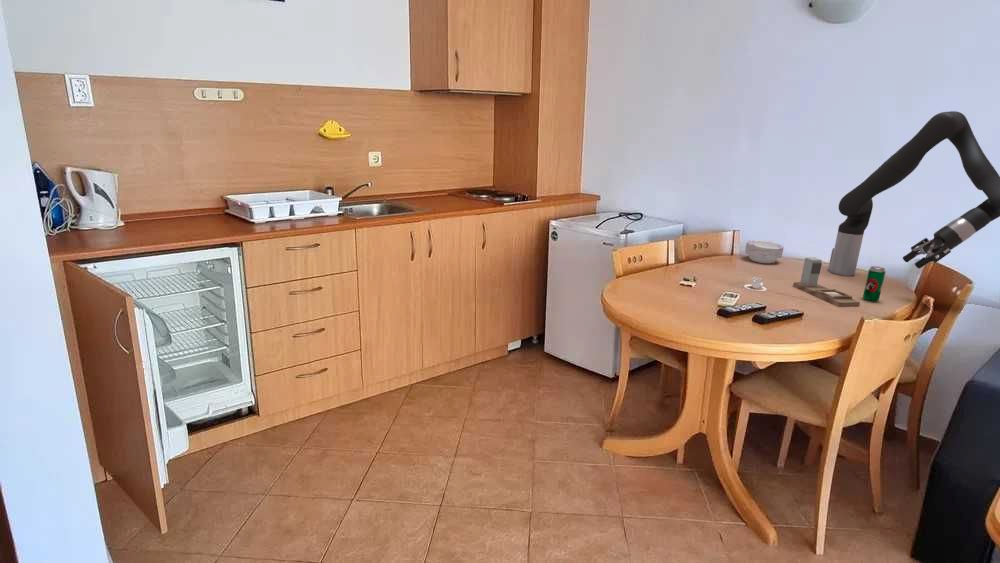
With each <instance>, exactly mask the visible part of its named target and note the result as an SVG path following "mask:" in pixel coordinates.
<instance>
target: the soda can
mask: <svg viewBox="0 0 1000 563" xmlns="http://www.w3.org/2000/svg"><path fill="white" fill-rule="evenodd" d="M885 276H886V270H885V267H881V266H877V265H876V266H875V265H872V266H870V267H869V269H868V273H867V277H866V280H865V286H864V290H863V294H862V298H863V300H864V301H866V300H867V301H866V302H870V301H871V302H872V303H876V302H879V300H880V297H881V293H882V289H883V284H884V280H885ZM871 302H870V303H871Z"/></svg>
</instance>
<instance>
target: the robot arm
mask: <svg viewBox="0 0 1000 563" xmlns="http://www.w3.org/2000/svg"><path fill="white" fill-rule="evenodd" d="M945 140H948V141H949V142H950V143H951V144H952V145H953V146H954V147H955V149H956V150H957V152H958V153H959V157H960V161H961V164H962V167H963V169H964V172H965V173H966V175H967V177H968V178H969V180H970V182H971V183H972V184H973V185H974V186H975V188H976V189H977V190H979V191H982V192H983V194H984V195H985V196H986V197H987V199H985V200H984V201H983V202H981V203H980V204H978V205H976V207H973V208H971V209H969V210H968V211H966V212H965V213H962V215H960V216H958V217H957V218H955V219H954V220H952V221H950V222H949V223H947V224H946V225H944V226H942V227H941V228H939V229H938V230H937V231H935V232H934V233H933V238H932V239H929V238H928V237H925V238H922V239H921V240H920V241H918V242H917V243H915V244H914V245H913V246H911V247H910V250H911V251H910V252H908V253H907V254H905V255H904V256H902V260H903V261H904V262H905V263H909V262H910V261H912V259H915V258H916V257H918V256H920V255H925V256H923V257H922V258H921V259H919V260H917V261H916V262H915V263H914V266H915V267H916V268H917V269H921V268H923V267H924V266H926V265H927V264H928V263H938V262H939V261H940V260H942V259H943V258H944V257H946V256H948V255H949V254H951V253H952V250H953V249H954V248H957V246H959V245H961V244H962V243H964V242H966V241H967V240H968V239H970V238H971V237H972V236H973V235H974V234H976V233H977V232H979V231H981V230H982V229H983V228H984V227H987V225H989V224H990V223H991V222H993V221H994V220H996V219H998V218H999V217H1000V174H999V173H998V172H997V171H996V170H997V169H995V167H994V166H993V164H992V163H991V162H990V160H989V159H988V157H987V156H986V154H985V153H984V151H983V149H982V147H981V146H980V144H979V142H978V140H977V138H976V136H975V135H974V132H973V129H972V128H971V125H970V123H969V120H968V119H967V117H966V115H965V114H964V113H961V112H959V111H956V110H955V111H954V110H953V111H952V110H951V111H942V112H940V113H937V114H935V115H933V116H932V117H931V118H930V119H929V120H928V121H927V122H926V123H925V124H924V125H923V126H922V128H921V129H919V130H918V132H917V133H916V134H915V135H914V136H913V137H912V138H911V139H910V140H909V141H908V142H906V143H905V144H904V145H903V146H902V147H900V148H899V149H898V150H897V151H896V152H895V153H893V154H892V155H891V156H890V157H889V158H888V159H887V160H885V161H884V162H883V163H882V164H881V165H880V166H879V167H878V168H877V169H875V171H873V172H872V173H871V174H869V176H868V177H867V178H866V179H865V180H863V181H862V182H861V183H860V184H858V185H857V186H856V187H854V188H853V189H852V190H850V191H849V192H848V193H846V194H845V195H844V196H843V197H841V199H840V200H839V203H838V211H839V213H840V214H841V215H843V216H845V217H846V219H845V220H844V221H843V222H842V223H840V224H839V225H838V228H837V229H838V230H837V234H836V239H835V243H834V247H833V248H832V249H831V254H830V259H829V264H828V271H829V272H830V273H832V274H835V275H838V276H845V277H846V276H847V277H848V276H849V277H853V276H855V275H856V270H857V267H858V266H857V265H858V262H859V256H860V252H861V248H862V243H863V238H864V234H865V231H866V229H867V227H868V226H869V224H870V219H871V215H872V213H873V208H874V206H873V205H874V203H873V202H874V201H873V198H874V197H876V196H877V195H879V194H881V193H882V192H884V191H887V190H889V189H891V188H893V187H895V186H896V185H898V184H899V183H900V182H903V180H904V179H906V178H907V177H908V176H909V175H910V174H912V173H913V172H914V171H915V170H916V169H917V167H918V166H919V165H920V163H921V161H922V160H923V158H924V157H925V155H927V153H928V152H929V151H931V150H932V149H933V148H935V147H936V146H937V145H939V144H940V143H941V142H943V141H945ZM852 275H853V276H852Z"/></svg>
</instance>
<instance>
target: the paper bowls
mask: <svg viewBox="0 0 1000 563" xmlns="http://www.w3.org/2000/svg"><path fill="white" fill-rule="evenodd" d="M744 251H745V254H747V255H748V258H749V259H750V260H751V261H752V262H755V263H758V264H759V263H760V264H774V263H776V261H777V259H781V258H782V257H783V252H784V245H782V244H780V243H778V242H774V241H767V240H762V239H761V240H760V239H759V240H758V239H751V240H747V241H746V244H745V249H744Z"/></svg>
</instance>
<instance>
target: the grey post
mask: <svg viewBox="0 0 1000 563" xmlns="http://www.w3.org/2000/svg"><path fill="white" fill-rule="evenodd" d="M822 261H823V260H822V259H820V258H817V257H815V256H814V257H812V256H810V257H807V256H806V257H804V261H803V262H804V263H803V267H802V272H801V276H800V277H801V278H800V281H799V282H800V283H801V284H804V285H806V286H817V284H818V282H819V277H820V273H821V269H822V265H823V263H822Z"/></svg>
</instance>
